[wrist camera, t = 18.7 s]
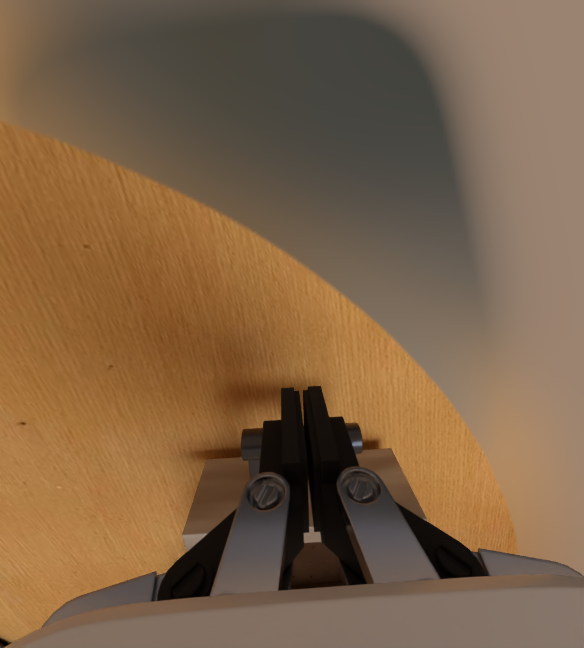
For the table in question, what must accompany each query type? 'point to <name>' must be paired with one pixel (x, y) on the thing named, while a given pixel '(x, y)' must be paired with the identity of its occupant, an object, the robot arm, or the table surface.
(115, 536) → the table surface
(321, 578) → the drawer
